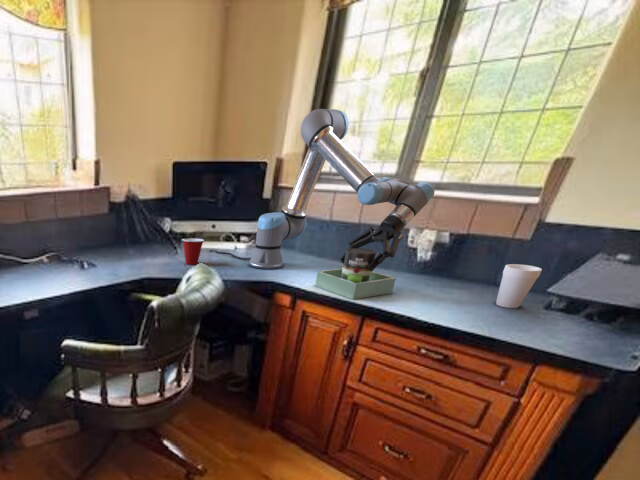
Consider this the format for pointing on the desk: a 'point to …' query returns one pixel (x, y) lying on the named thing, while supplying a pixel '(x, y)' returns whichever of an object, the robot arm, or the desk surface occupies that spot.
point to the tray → (354, 284)
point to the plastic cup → (192, 250)
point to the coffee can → (357, 264)
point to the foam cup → (516, 284)
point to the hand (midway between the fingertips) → (355, 265)
